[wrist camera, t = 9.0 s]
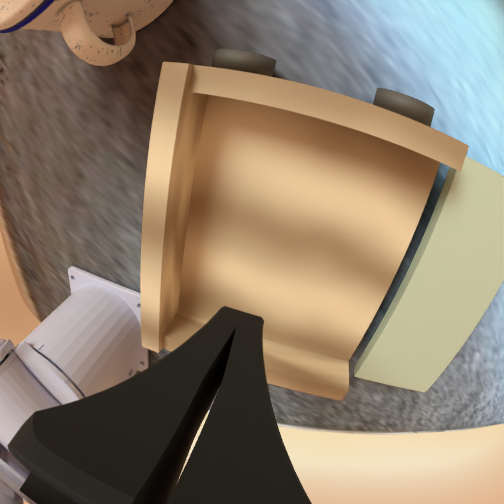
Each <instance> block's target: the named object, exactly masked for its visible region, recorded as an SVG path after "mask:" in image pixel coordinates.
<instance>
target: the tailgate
mask: <svg viewBox="0 0 504 504" xmlns="http://www.w3.org/2000/svg"><path fill="white" fill-rule="evenodd" d="M503 280H504V176H502V175H500V174H499V173H497V172H495V171H493V170H492V169H490V168H488V167H486V166H484V165H482V164H480V163H479V162H477V161H475V160H473V159H471V158H469V157H467V156H466V157H465V160H464V163H463V166H462V169H461V172H460V171H458V170H456V169H454V168H452V167H450V168H449V171H448V173H447V176H446V179H445V182H444V185H443V188H442V191H441V193H440V196H439V199H438V201H437V204H436V206H435V209H434V212H433V214H432V217H431V219H430V222H429V224H428V226H427V229H426V231H425V234H424V236H423V238H422V240H421V243H420V245H419V247H418V249H417V252H416V254H415V256H414V258H413V260H412V263H411V265H410V267H409V269H408V271H407V273H406V275H405V277H404V279H403V281H402V283H401V285H400V287H399V289H398V291H397V293H396V295H395V297H394V299H393V301H392V303H391V305H390V306H389V308H388V310H387V312H386V314H385V316H384V317H383V319H382V321H381V323H380V325H379V326H378V328H377V330H376V332H375V333H374V335H373V337H372V338H371V340H370V342H369V344H368V345H367V347H366V349H365V350H364V352H363V353H362V355H361V357H360V358H359V360H358V362H357V363H356V365H355V366H354V377H358V378H362V379H366V380H370V381H374V382H379V383H383V384H387V385H392V386H396V387H401V388H406V389H411V390H416V391H421V392H426V391H427V390H428V389H429V388H430V387H431V385H432V384H433V383H434V382H435V381H436V379H437V378H438V377H439V376H440V374H441V373H442V372H443V371H444V369H445V368H446V367H447V366H448V364H449V363H450V362H451V360H452V359H453V358H454V356H455V355H456V354H457V352H458V351H459V350H460V348H461V347H462V346H463V344H464V343H465V341H466V340H467V338H468V337H469V336H470V334H471V333H472V331H473V330H474V328H475V327H476V325H477V324H478V322H479V321H480V319H481V317H482V316H483V314H484V313H485V311H486V309H487V308H488V306H489V305H490V303H491V301H492V300H493V298H494V296H495V294H496V293H497V291H498V289H499V287H500V286H501V284H502V282H503Z"/></svg>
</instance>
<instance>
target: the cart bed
mask: <svg viewBox="0 0 504 504" xmlns="http://www.w3.org/2000/svg"><path fill="white" fill-rule="evenodd" d="M275 65H276V60H275V59H273V58H270V57H267V56H264V55H260V54H256V53H252V52H247V51H241V50H233V49H216V51H215V55H214V60H213V64H212V67H208V66H199V65H192V64H187V63H175V62H163V64H162V69H161V74H160V79H159V85H158V90H157V96H156V102H155V108H154V115H153V122H152V129H151V136H150V144H149V153H148V162H147V171H146V182H145V193H144V207H143V222H142V243H141V338H142V347H145V348H147V349H150V350H152V351H155V352H157V353H159V352H160V350H161V349H162V348H163V349H166V350H169V351H171V352H172V351H173V350H175V349H176V348H177V347H179V346H180V345H181V344H183V343H184V342H185V341H186V340H188V339H189V338H190V337H191V336H192V335H194V334H195V333H196V332H197V331H198V330H199V329H201V328H202V327H203V326H204V325H205V324H206V323H207V322H208V321H209V320H210V319H211V318H212V317H213V316H214V315H215V314H216V313H217V312H218V311H219V309H220V308H221V307H224V306H227V307H230V308H233V309H237V310H240V311H243V312H246V313H250V314H253V315H256V316H260V317H262V318H263V320H264V325H263V356H264V364H265V373H266V379H267V383H269V384H273V385H277V386H280V387H284V388H288V389H292V390H296V391H300V392H304V393H308V394H313V395H317V396H321V397H326V398H331V399H335V400H340V401H341V400H342V399H343V398H344V396H345V395H346V393H347V392H348V391H349V360H350V358H351V357H352V355H353V353H354V351H355V350H356V348H357V346H358V345H359V343H360V341H361V339H362V338H363V336H364V334H365V332H366V331H367V329H368V327H369V325H370V323H371V322H372V320H373V318H374V316H375V314H376V312H377V310H378V308H379V307H380V305H381V303H382V301H383V299H384V297H385V295H386V293H387V291H388V289H389V287H390V285H391V283H392V281H393V279H394V277H395V274H396V272H397V270H398V268H399V266H400V264H401V262H402V259H403V257H404V255H405V253H406V251H407V248H408V246H409V244H410V241H411V239H412V237H413V234H414V232H415V230H416V227H417V225H418V222H419V220H420V217H421V215H422V212H423V210H424V207H425V204H426V202H427V199H428V197H429V194H430V191H431V188H432V186H433V183H434V180H435V177H436V174H437V171H438V168H439V165H440V162H441V163H443V164H445V165H447V166H450V167H452V168H454V169H456V170H458V171H460V172H461V169H462V166H463V163H464V160H465V157H466V154H467V150H468V147H469V146H468V145H466V144H464V143H462V142H460V141H458V140H456V139H454V138H452V137H450V136H448V135H446V134H444V133H442V132H440V131H437V130H435V129H433V128H431V127H430V126H431V122H432V118H433V115H434V111H435V109H434V108H433V107H431V106H429V105H428V104H426V103H424V102H422V101H420V100H418V99H415V98H413V97H410V96H408V95H405V94H402V93H399V92H396V91H392V90H388V89H383V88H377V91H376V95H375V99H374V103H373V105H372V104H370V103H367V102H364V101H361V100H358V99H355V98H351V97H348V96H345V95H342V94H338V93H335V92H331V91H328V90H324V89H321V88H317V87H313V86H309V85H305V84H301V83H297V82H293V81H289V80H284V79H280V78H275V77H273V73H274V69H275Z"/></svg>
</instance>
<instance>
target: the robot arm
mask: <svg viewBox="0 0 504 504" xmlns="http://www.w3.org/2000/svg"><path fill="white" fill-rule="evenodd" d="M68 273H69V280H70V287H71V293H72V295H71V296H69V297H68V298H67V299H66V300H65V301H64V302H63V303H62V304H61V305H60V306H59V307H58V308H56V309H55V310H54V311H53V312H52V313H51V314H50V315H49V316H48V317H47V318H46V319H45V320H44V321H43V322H42V323H41V324H40V325H39V326H38V327H37V328H36V329H34V330H33V332H31V333H30V334H29V336H27V337H26V338H25V339H24V340H23V341H22V342H21V343H20V344H18V345H17V346H16V347H14V344H13V343H12V342H11V340H9V339H8V340H4V339H0V504H23V501H26V502H28V503H30V504H312V503H311V501H310V500H309V498H308V496H307V494H306V493H305V491H304V489H303V487H302V485H301V483H300V481H299V478H298V476H297V474H296V472H295V470H294V468H293V465H292V463H291V461H290V458H289V456H288V453H287V451H286V449H285V446H284V443H283V441H282V438H281V435H280V432H279V429H278V426H277V422H276V419H275V415H274V412H273V408H272V404H271V400H270V395H269V390H268V385H267V379H266V373H265V364H264V356H263V325H264V320H263V318H262V317H260V316H256V315H253V314H250V313H246V312H243V311H240V310H237V309H233V308H230V307H227V306H224V307H221V308H220V309H219V311H218V312H217V313H216V314H215V315H214V316H213V317H212V318H211V319H210V320H209V321H208V322H207V323H206V324H205V325H204V326H203V327H202V328H201V329H199V330H198V331H197V332H196V333H195V334H194V335H192V336H191V337H190V338H189V339H188V340H186V341H185V342H184V343H183V344H181V345H180V346H179V347H177V348H176V349H175V350H173V351H172V352H171V353H169V354H168V355H166V356H165V357H164V358H162V359H161V360H159V361H158V362H156V363H155V364H153V365H151V366H150V367H149V359H148V349H147V348H145V347H142V338H141V305H140V304H141V293H139V292H136V291H133V290H131V289H128V288H126V287H123V286H120V285H118V284H115V283H113V282H110V281H108V280H105V279H103V278H100V277H98V276H96V275H93V274H91V273H88V272H86V271H84V270H81V269H79V268H76V267H74V266H71V267H70V268H69V269H68ZM13 347H14V348H13ZM12 348H13V349H12ZM137 370H138V371H141V372H140V373H138V374H136V375H135V373H136V372H137ZM220 385H221V386H220ZM219 387H220V388H219ZM218 389H219V391H218ZM217 391H218V393H217ZM216 394H217V395H216ZM215 396H216V398H215ZM214 398H215V400H214ZM213 400H214V403H213V405H212V407H211V410H210V412H209V414H208V417H207V419H206V421H205V424H204V426H203V428H202V431H201V433H200V436H199V437H198V440H197V442H196V444H195V447H194V449H193V451H192V453H191V455H190V458H189V459H188V462H187V464H186V466H185V468H184V470H183V472H182V474H181V471H182V469H183V466H184V463H185V461H186V458H187V456H188V453H189V450H190V448H191V445H192V443H193V440H194V438H195V436H196V434H197V431H198V429H199V427H200V425H201V423H202V421H203V419H204V417H205V415H206V414H207V412H208V410H209V408H210V406H211V404H212V402H213ZM180 474H181V476H180ZM179 476H180V479H179ZM178 479H179V481H178ZM177 482H178V483H177ZM176 484H177V485H176Z"/></svg>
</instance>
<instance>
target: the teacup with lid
mask: <svg viewBox="0 0 504 504" xmlns="http://www.w3.org/2000/svg"><path fill="white" fill-rule="evenodd" d="M172 2H173V0H0V33H8V32H13V31H15V30H18V29H37V30H49V31H59V32H62V35H63V37H64V39H65V41H66V43H67V45H68V46H69V47H70V49H71V50H72V51H73V52H74V53H75V54H76V55H77V56H78V57H79V58H80V59H82V60H83V61H85V62H87V63H89V64H92V65H97V66H107V65H111V64H114V63H116V62H118V61H120V60H121V59H123V58H124V57H125V56H127V55H128V54H129V53H130V52H131V51H132V49H133V47H134V45H135V40H136V33H135V31H137V30H139V29H141V28H143V27H144V26H146V25H148V24H149V23H150V22H152V21H153V20H155V19H156V18H157V17H158V16H159V15H160V14H161V13H163V12H164V11H165V10H166V9H167V7H168V6H169V5H170V4H171V3H172ZM98 37H102V38H114V45H110V44H107V43H105V42H103V41H102V40H101V39H99V38H98Z"/></svg>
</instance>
